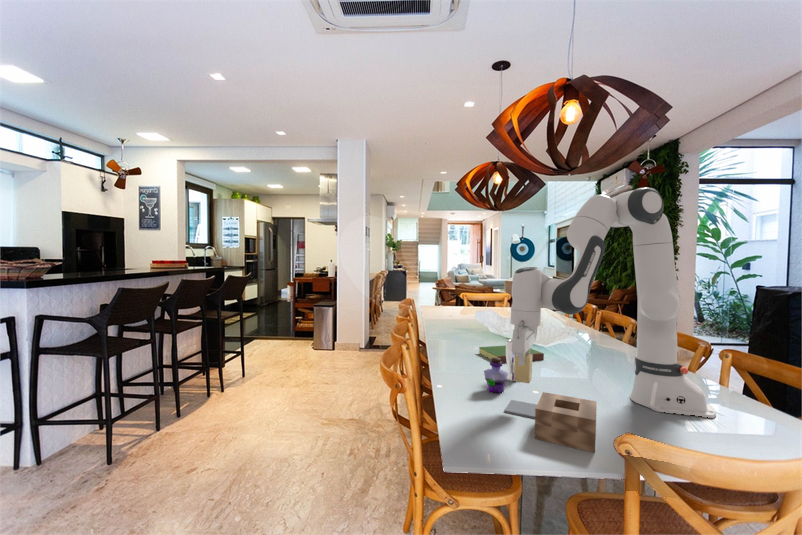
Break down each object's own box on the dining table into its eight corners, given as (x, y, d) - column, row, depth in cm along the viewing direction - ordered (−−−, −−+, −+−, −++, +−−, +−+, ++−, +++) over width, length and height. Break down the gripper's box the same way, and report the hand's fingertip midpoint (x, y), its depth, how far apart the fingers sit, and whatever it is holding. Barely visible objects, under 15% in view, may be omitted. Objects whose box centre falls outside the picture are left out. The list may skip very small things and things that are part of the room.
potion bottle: (481, 393, 129) (482, 359, 128) (485, 385, 137) (485, 353, 137) (507, 397, 126) (507, 362, 125) (509, 388, 134) (509, 356, 134)
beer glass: (524, 382, 140) (525, 344, 140) (505, 381, 142) (506, 343, 142) (522, 377, 147) (523, 340, 147) (504, 376, 149) (505, 339, 148)
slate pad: (543, 407, 117) (543, 405, 117) (538, 419, 108) (538, 417, 108) (511, 401, 122) (511, 399, 122) (504, 412, 113) (504, 410, 113)
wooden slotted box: (595, 429, 102) (596, 401, 102) (594, 452, 89) (595, 420, 89) (542, 418, 108) (543, 392, 108) (534, 438, 96) (535, 408, 96)
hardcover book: (498, 364, 167) (498, 356, 167) (478, 354, 185) (478, 347, 185) (545, 361, 174) (545, 353, 174) (521, 351, 192) (521, 344, 192)
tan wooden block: (531, 379, 116) (532, 354, 116) (528, 383, 112) (529, 357, 112) (516, 376, 118) (517, 352, 118) (513, 380, 114) (514, 355, 114)
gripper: (529, 324, 104) (527, 373, 104) (540, 315, 122) (539, 356, 122) (507, 322, 107) (505, 369, 107) (521, 313, 125) (519, 354, 125)
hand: (523, 362), depth 115 cm, fingers closed on tan wooden block, 4 cm apart
